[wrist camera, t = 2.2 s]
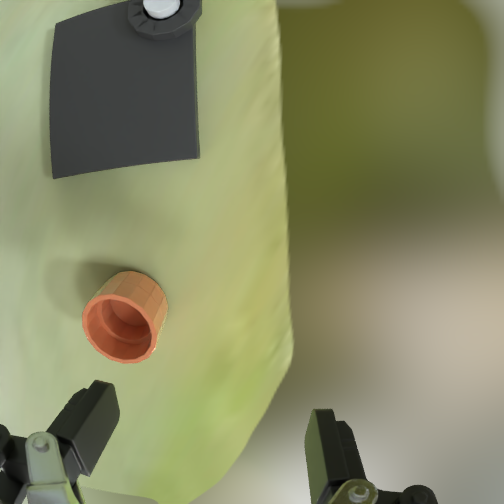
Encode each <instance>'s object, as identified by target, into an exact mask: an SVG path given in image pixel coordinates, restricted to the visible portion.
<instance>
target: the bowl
mask: <svg viewBox="0 0 504 504" xmlns="http://www.w3.org/2000/svg"><path fill="white" fill-rule="evenodd" d="M167 312H168V304H167V300H166V296H165V294H164V292H163V291H162V290H161V288H160V287H159V285H158V284H157V283H156V282H155V281H154V280H152V279H151V278H149V277H148V276H146V275H145V274H141V273H138V272H134V271H126V272H119V273H117V274H116V275H114V276H113V277H111V278H110V279H108V280H107V282H106V283H105V284H104V285H103V286H102V287H101V288H100V289H99V290H98V292H97V293H96V294H95V295H94V296H93V297H92V298H91V299H90V301H89V302H88V303H87V305H86V307H85V309H84V311H83V313H82V326H83V329H84V332H85V334H86V337H87V339H88V341H89V342H90V343H91V344H92V345H93V347H94V348H95V349H96V350H97V351H98V352H99V353H101V354H102V355H104V356H105V357H107V358H108V359H110V360H113V361H117V362H120V363H124V364H127V363H138V362H141V361H143V360H145V359H147V358H149V356H150V355H151V354H152V352H153V351H154V350H155V348H156V345H157V343H158V340H159V337H160V334H161V332H162V329H163V326H164V324H165V321H166V318H167Z"/></svg>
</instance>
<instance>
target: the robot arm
mask: <svg viewBox="0 0 504 504" xmlns="http://www.w3.org/2000/svg"><path fill="white" fill-rule="evenodd" d="M119 416H120V410H119V405H118V401H117V397H116V392H115V387H114V385H113V384H111V383H107V382H103V381H99V380H95V381H94V382H93V383H92V384H91V386H90V387H89V388H88V389H85V388H83V389H81V390H80V391H78V392H77V393H75V394H74V395H73V396H72V398H71V399H70V400H69V401H68V403H67V404H66V405H65V407H64V409H62V411H61V412H60V413H59V415H58V416H57V417H56V419H55V420H54V421H53V423H52V424H51V425H50V427H49V428H48V429H47V431H46V432H36V433H33V434H32V435H30V436H29V437H28V438H24V437H18V436H13V435H10V433H9V431H8V429H7V428H6V427H5V426H4V425H1V424H0V468H1V469H2V470H1V472H0V504H22V502H23V500H24V499H25V497H26V495H27V498H28V504H86V503H85V500H84V497H83V494H82V491H81V488H80V485H79V482H78V479H77V478H78V477H79V475H80V473H81V474H83V475H86V476H88V477H90V475H91V473H92V471H93V469H94V467H95V465H96V463H97V461H98V459H99V458H100V456H101V454H102V452H103V450H104V448H105V446H106V444H107V442H108V440H109V438H110V437H111V435H112V433H113V431H114V429H115V427H116V425H117V423H118V421H119ZM305 454H306V462H307V469H308V477H309V487H310V495H311V504H438V502H437V500H436V497H435V494H434V493H433V491H432V490H431V489H430V488H428V487H426V486H423V485H413V486H410V487H408V488H406V489H405V490H404V491H403V492H390V491H382V490H379V489H377V488H376V487H375V485H374V484H372V483H371V482H369V481H368V480H367V479H366V476H365V472H364V469H363V465H362V462H361V459H360V455H359V452H358V449H357V445H356V442H355V438H354V435H353V432H352V429H351V428H350V427H349V426H348V425H347V424H346V422H345V421H336V420H335V416H334V412H333V410H332V409H313V410H312V413H311V417H310V421H309V424H308V428H307V431H306V435H305Z"/></svg>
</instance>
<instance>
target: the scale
mask: <svg viewBox="0 0 504 504" xmlns="http://www.w3.org/2000/svg"><path fill="white" fill-rule="evenodd" d="M201 14H202V0H180V7H179V9H178V10H177V11H176V12H175V13H174V14H173V15H172V16H170V17H167V18H164V19H156V18H153V17H151V16H150V15H149V13H148V12H147V10H146V9H145V7H144V5H143V0H129V1H125V2H121V3H117V4H113V5H110V6H106V7H103V8H99V9H96V10H93V11H90V12H87V13H84V14H81V15H78V16H75V17H72V18H69V19H67V20H64V21H61V22H59V23H56V26H55V33H54V41H53V50H52V61H51V76H50V147H51V162H52V174H53V179H57V178H62V177H68V176H73V175H78V174H84V173H89V172H95V171H101V170H108V169H114V168H121V167H128V166H135V165H143V164H151V163H159V162H168V161H177V160H188V159H199V158H200V148H199V130H198V108H197V81H196V31H195V23H196V22H197V20H198V19H199V17H200V16H201Z"/></svg>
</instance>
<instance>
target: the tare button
mask: <svg viewBox="0 0 504 504" xmlns="http://www.w3.org/2000/svg"><path fill="white" fill-rule="evenodd" d="M143 5H144V7H145V9H146V10H147V12H148V13H149V15H150V16H151V17H153V18H156V19H164V18H167V17H170V16H172V15H173V14H174V13H175V12H176V11H177V10H178V9H179V7H180V0H143Z"/></svg>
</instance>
